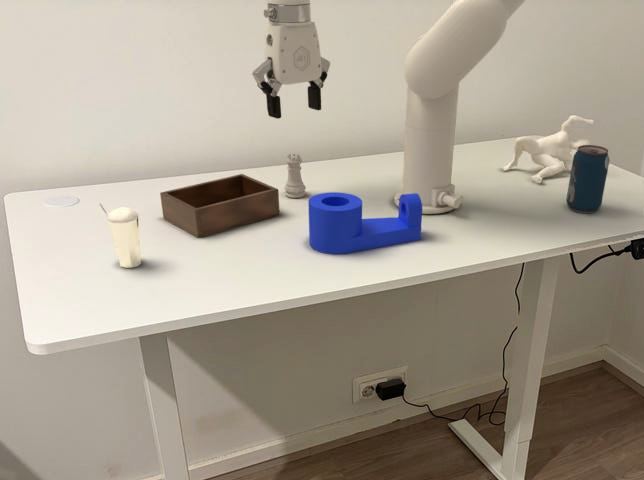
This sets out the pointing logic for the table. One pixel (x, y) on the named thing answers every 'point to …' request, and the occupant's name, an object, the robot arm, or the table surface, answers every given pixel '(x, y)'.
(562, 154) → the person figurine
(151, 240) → the table surface
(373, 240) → the bracket
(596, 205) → the soda can
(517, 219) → the table surface
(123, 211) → the milkshake
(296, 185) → the rook chess piece
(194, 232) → the crate
